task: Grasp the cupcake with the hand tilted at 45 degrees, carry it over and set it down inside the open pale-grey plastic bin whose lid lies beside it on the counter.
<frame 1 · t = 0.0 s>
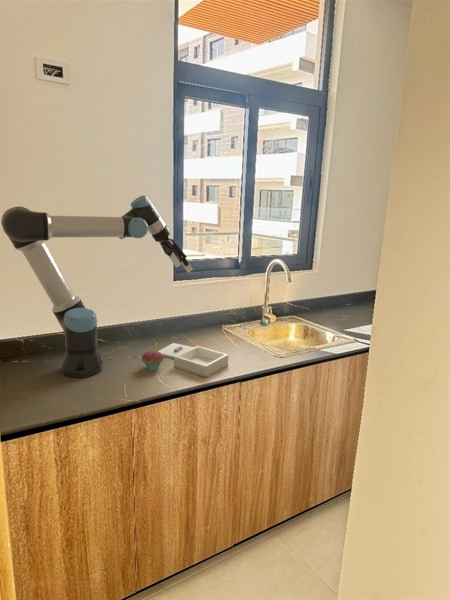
hand: (184, 268, 186), 36 cm above the counter, tool tilted 35°, fingers open, 13 cm apart
bin lid: (178, 352, 183), on the counter
bin: (201, 366, 170), on the counter
cupcake: (152, 368, 165), on the counter
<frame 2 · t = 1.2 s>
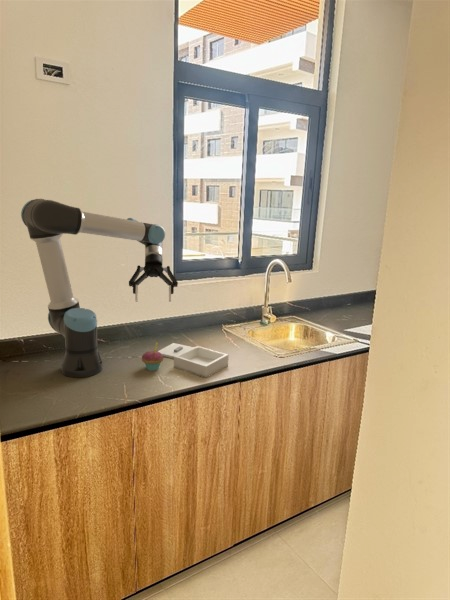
hand: (153, 300, 169), 26 cm above the counter, tool tilted 45°, fingers open, 13 cm apart
nothing on the counter moved.
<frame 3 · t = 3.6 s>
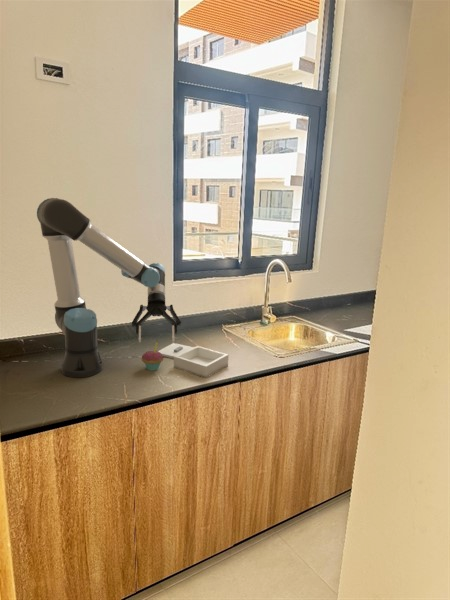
hand: (156, 341, 168), 10 cm above the counter, tool tilted 45°, fingers open, 13 cm apart
nothing on the counter moved.
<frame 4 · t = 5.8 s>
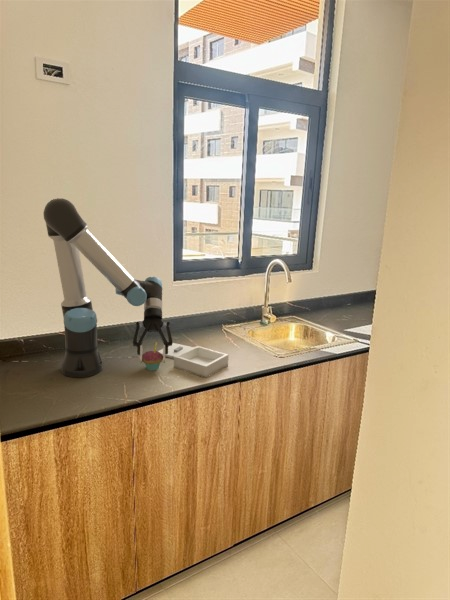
hand: (152, 361, 161), 4 cm above the counter, tool tilted 45°, fingers closed on cupcake, 8 cm apart
cupcake: (152, 368, 165), on the counter, touching gripper
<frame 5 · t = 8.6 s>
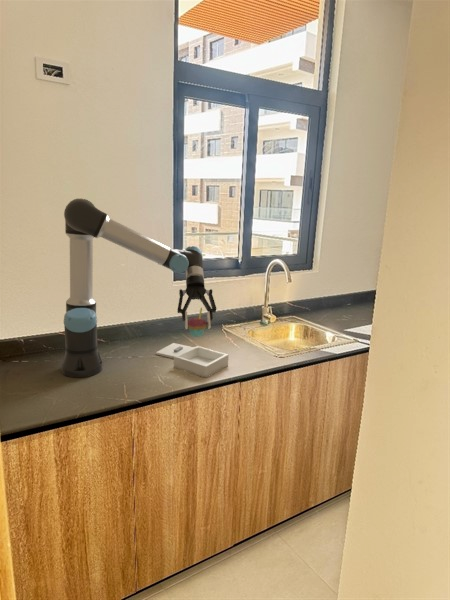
hand: (198, 327, 162), 18 cm above the counter, tool tilted 45°, fingers closed on cupcake, 8 cm apart
cupcake: (196, 335, 166), point 13 cm above the counter, touching gripper
when the fingers open (6 cm above the counter, at t = 11.2 s): cupcake drops 1 cm, resting on bin.
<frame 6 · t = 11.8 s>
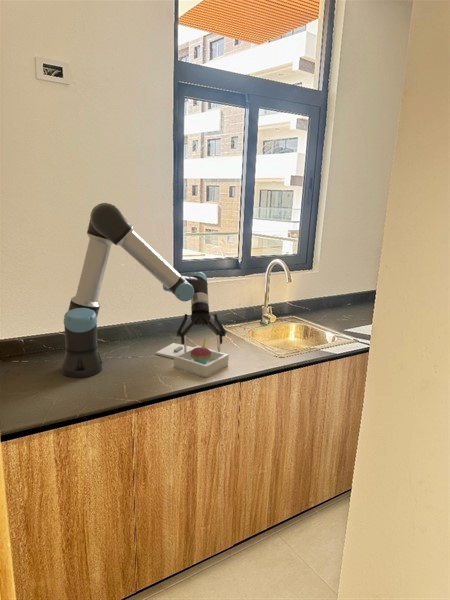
hand: (202, 351, 166), 7 cm above the counter, tool tilted 45°, fingers open, 13 cm apart
cupcake: (200, 364, 169), point 1 cm above the counter, touching bin
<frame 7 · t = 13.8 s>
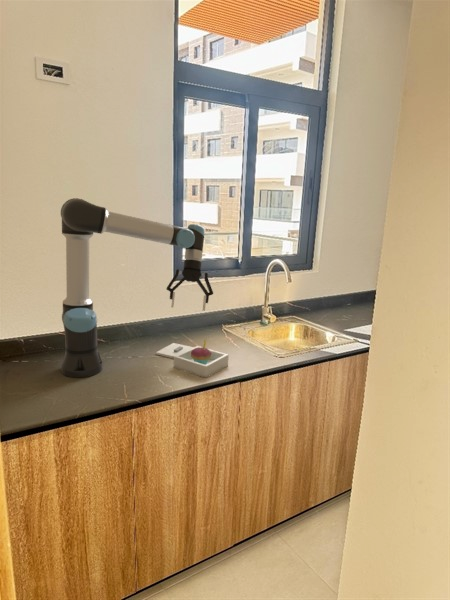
hand: (188, 309, 178), 20 cm above the counter, tool tilted 20°, fingers open, 13 cm apart
nothing on the counter moved.
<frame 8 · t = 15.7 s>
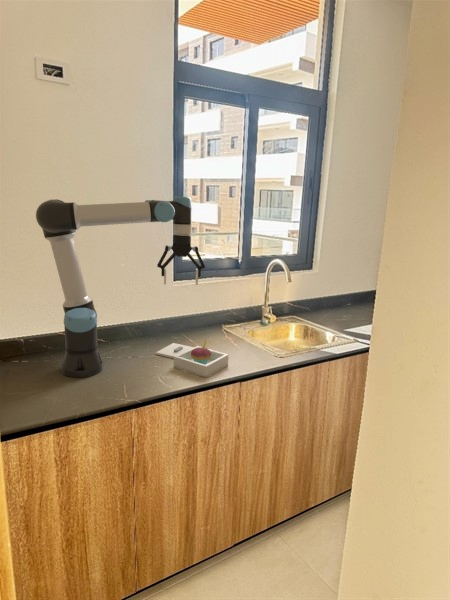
hand: (180, 284, 178), 31 cm above the counter, tool pointing down, fingers open, 13 cm apart
nothing on the counter moved.
at the end: cupcake inside the target area on the bin (0.4 cm from its centre), point 0.6 cm above the bin's base; cupcake tilted 0°; the gripper is holding nothing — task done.
